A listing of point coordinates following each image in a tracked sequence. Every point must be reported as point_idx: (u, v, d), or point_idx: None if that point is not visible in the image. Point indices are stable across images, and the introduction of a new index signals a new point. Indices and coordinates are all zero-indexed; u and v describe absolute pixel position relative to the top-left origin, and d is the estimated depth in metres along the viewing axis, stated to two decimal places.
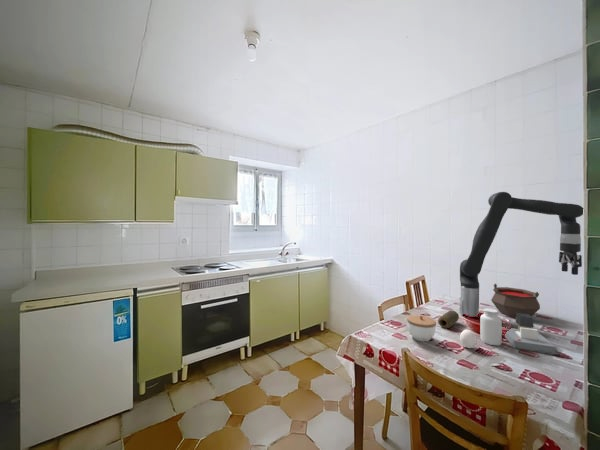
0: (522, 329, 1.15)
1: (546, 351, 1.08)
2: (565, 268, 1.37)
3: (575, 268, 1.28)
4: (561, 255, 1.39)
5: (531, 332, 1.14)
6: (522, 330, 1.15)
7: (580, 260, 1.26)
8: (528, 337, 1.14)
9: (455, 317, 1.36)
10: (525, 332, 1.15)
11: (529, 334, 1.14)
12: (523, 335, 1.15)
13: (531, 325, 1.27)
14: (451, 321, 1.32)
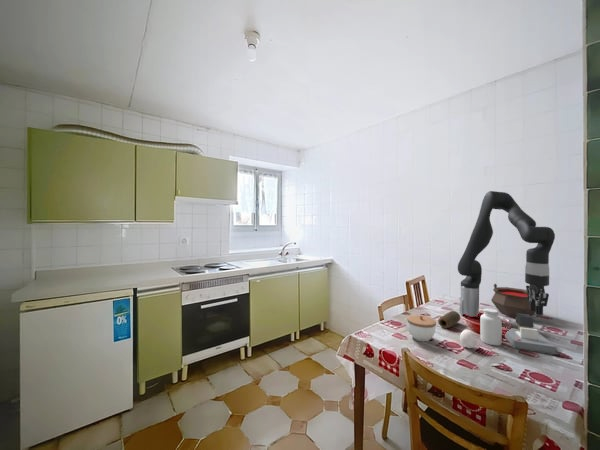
0: (522, 329, 1.15)
1: (546, 351, 1.08)
2: (534, 307, 1.10)
3: (539, 307, 1.05)
4: (528, 289, 1.13)
5: (531, 332, 1.14)
6: (522, 330, 1.15)
7: (546, 300, 1.02)
8: (528, 337, 1.14)
9: (456, 318, 1.35)
10: (525, 332, 1.15)
11: (529, 334, 1.14)
12: (523, 335, 1.15)
13: (531, 325, 1.27)
14: (451, 321, 1.31)
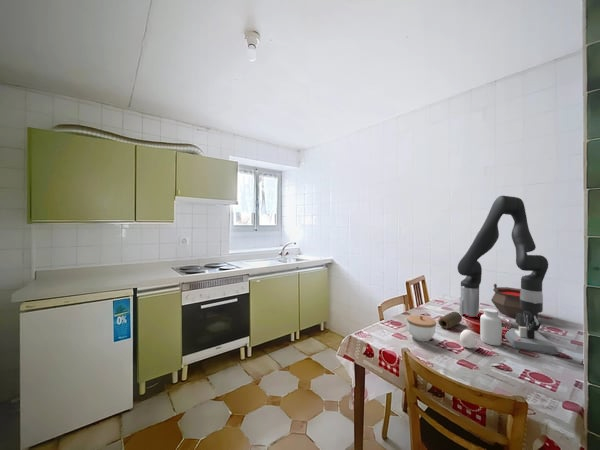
0: (521, 328, 1.16)
1: (546, 351, 1.08)
2: None
3: (531, 331, 1.11)
4: (524, 316, 1.17)
5: None
6: (522, 329, 1.16)
7: (538, 327, 1.08)
8: None
9: (457, 318, 1.34)
10: (524, 331, 1.15)
11: None
12: (522, 334, 1.16)
13: None
14: (451, 322, 1.31)
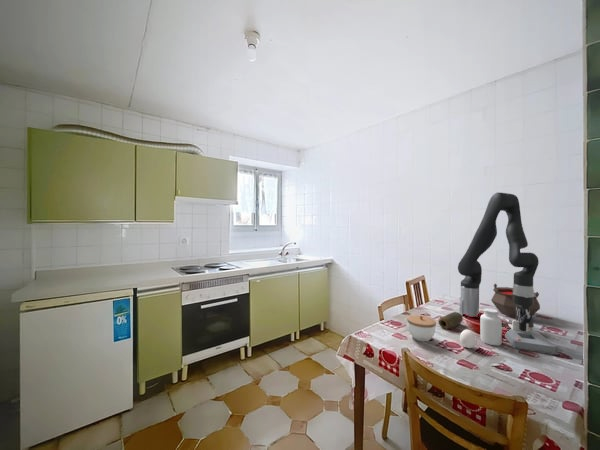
0: (514, 322, 1.23)
1: (546, 351, 1.08)
2: None
3: (523, 324, 1.19)
4: (516, 310, 1.24)
5: None
6: (514, 322, 1.23)
7: (529, 320, 1.15)
8: (519, 329, 1.23)
9: (457, 319, 1.34)
10: (516, 325, 1.23)
11: None
12: (515, 327, 1.23)
13: (531, 325, 1.27)
14: (451, 322, 1.31)
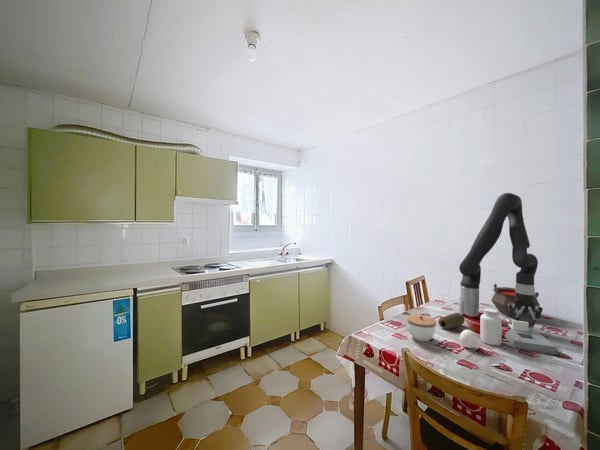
0: (514, 322, 1.23)
1: (546, 351, 1.08)
2: None
3: (514, 317, 1.31)
4: None
5: (522, 325, 1.22)
6: (514, 322, 1.23)
7: (510, 309, 1.31)
8: (519, 329, 1.23)
9: (458, 319, 1.33)
10: (516, 325, 1.23)
11: (520, 326, 1.22)
12: (515, 327, 1.23)
13: (531, 325, 1.27)
14: (451, 323, 1.30)
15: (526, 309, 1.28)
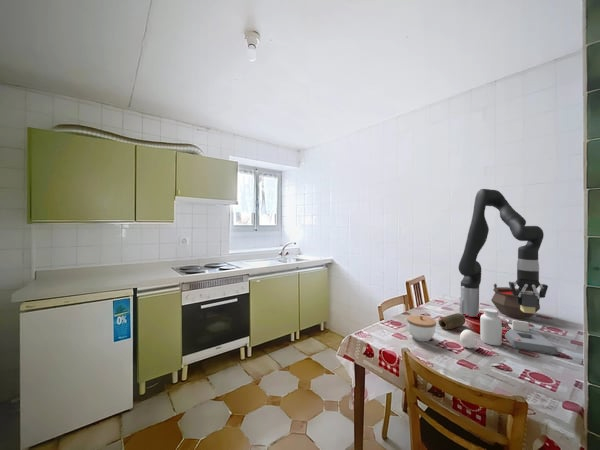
0: (514, 322, 1.23)
1: (546, 351, 1.08)
2: None
3: None
4: (541, 287, 1.15)
5: (522, 325, 1.22)
6: (514, 322, 1.23)
7: (511, 288, 1.18)
8: (519, 329, 1.23)
9: (459, 320, 1.32)
10: (516, 325, 1.23)
11: (520, 326, 1.22)
12: (515, 327, 1.23)
13: (535, 305, 1.13)
14: (451, 323, 1.30)
15: (529, 287, 1.15)
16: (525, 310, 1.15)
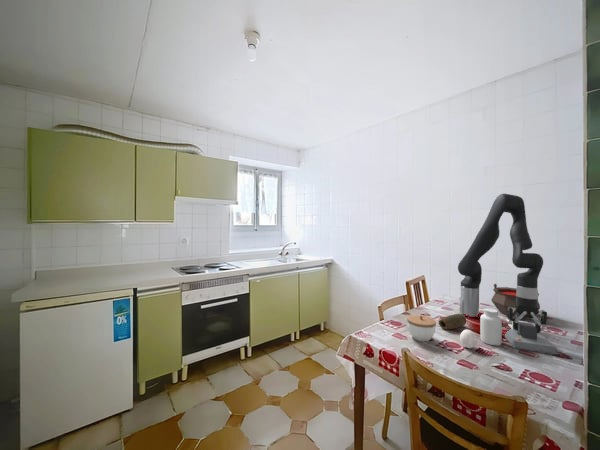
0: None
1: (546, 351, 1.08)
2: None
3: (513, 322, 1.19)
4: None
5: None
6: None
7: (509, 313, 1.18)
8: None
9: (459, 320, 1.32)
10: None
11: None
12: None
13: (535, 336, 1.14)
14: (451, 323, 1.29)
15: (529, 315, 1.15)
16: None
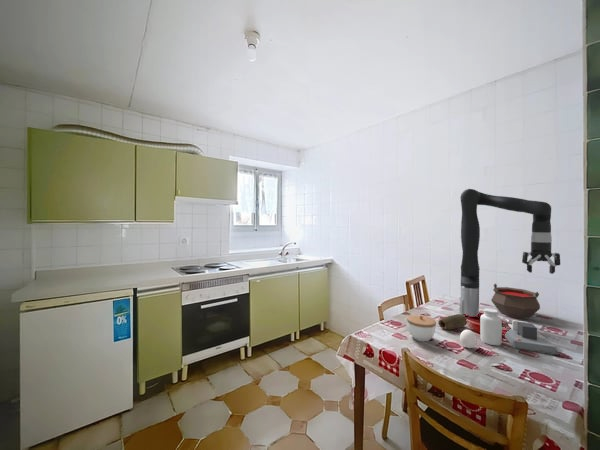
0: (514, 322, 1.23)
1: (546, 351, 1.08)
2: (550, 270, 1.27)
3: (527, 265, 1.31)
4: (554, 256, 1.27)
5: None
6: (514, 322, 1.23)
7: (524, 257, 1.30)
8: None
9: (459, 321, 1.31)
10: (516, 325, 1.23)
11: None
12: (515, 327, 1.23)
13: (535, 336, 1.14)
14: (451, 323, 1.29)
15: (543, 258, 1.27)
16: None
